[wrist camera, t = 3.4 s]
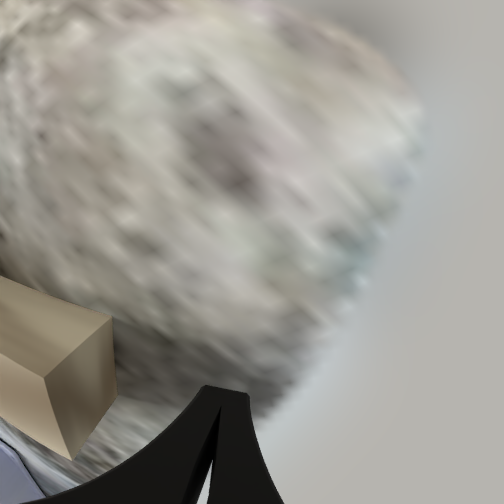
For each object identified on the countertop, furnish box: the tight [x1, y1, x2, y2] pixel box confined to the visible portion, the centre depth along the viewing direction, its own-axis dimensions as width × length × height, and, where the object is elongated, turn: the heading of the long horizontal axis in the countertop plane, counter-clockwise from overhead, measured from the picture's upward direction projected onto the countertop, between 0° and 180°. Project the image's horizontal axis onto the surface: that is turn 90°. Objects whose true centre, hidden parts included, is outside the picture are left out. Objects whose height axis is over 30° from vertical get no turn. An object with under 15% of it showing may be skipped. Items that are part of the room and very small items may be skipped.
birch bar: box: [0, 276, 118, 461], centre depth 8 cm, size 4×8×4 cm, turn 80°
